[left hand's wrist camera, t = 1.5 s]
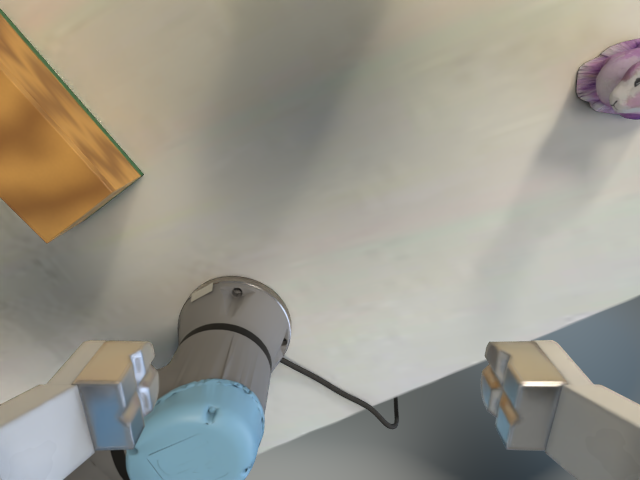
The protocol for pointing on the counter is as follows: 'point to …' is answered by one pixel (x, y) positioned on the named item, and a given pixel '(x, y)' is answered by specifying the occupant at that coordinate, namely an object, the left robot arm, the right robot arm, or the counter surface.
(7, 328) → the counter surface
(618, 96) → the figurine
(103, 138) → the wooden box
